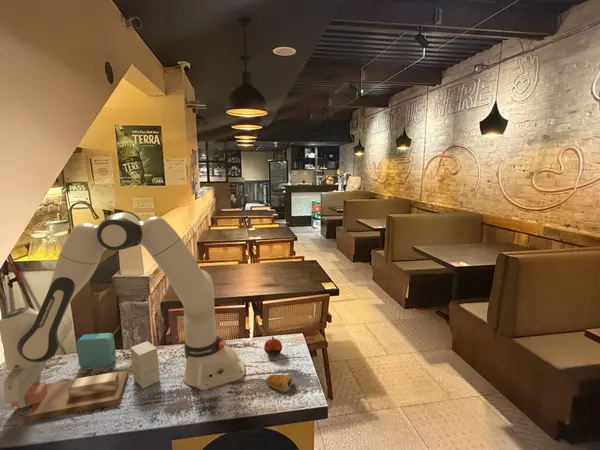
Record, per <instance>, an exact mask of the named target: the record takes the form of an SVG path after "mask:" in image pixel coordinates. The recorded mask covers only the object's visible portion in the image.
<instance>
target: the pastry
mask: <svg viewBox="0 0 600 450" xmlns="http://www.w3.org/2000/svg"><path fill="white" fill-rule="evenodd" d="M265 381H266V383H267V385H268V386H269V387H271V388H272V389H273V390H275V391H276V390H277V391H279V392H283V393H286V392H287V391H289V390H290V388H291V386H292V385H293V382H294V379H293V377H292V376H291V375H290V376H289V375H287V374H283V373H281V374H271V375H269V376H267V378H265Z"/></svg>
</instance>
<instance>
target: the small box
mask: <svg viewBox="0 0 600 450" xmlns="http://www.w3.org/2000/svg"><path fill="white" fill-rule="evenodd" d="M130 350H131V351H130V352H131V362H132V373H133V380H134V381H135V382H136V383H137V384H138V385H139V386H140V388H142V389H146V388H148V387H149V386H151V385H153V384H156V383H157V382H159V381H160V379H161V378H160V377H161V376H160V369H159V368H160V367H159V358H158V356H159V355H158V349H157V347H156V346H154V345H153V344H152V343H151V342H149V340H146V341H145V342H141V343H139V344H136V345H134V346H131V347H130Z"/></svg>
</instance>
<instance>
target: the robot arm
mask: <svg viewBox="0 0 600 450" xmlns="http://www.w3.org/2000/svg"><path fill="white" fill-rule="evenodd" d="M63 243H64V244H63V246H61V247H62V248H61V249H60V253H59V254H58V258H57V260H56V264H55V267H54V271H53V275H52V277H51V281H50V284H49V287H48V290H47V292H46V294H45V298H44V300H43V302H42V305H41V307H40V309H39V311H38V310H35V309H34V308H31V307H28V306H24V307H20V308H15V309H14V310H11V311H9V312H8V313H6V314H4V316H2V317H1V319H0V341H1V344H2V345H3V349H4V350H3V356H4V362H5V366H6V367H5V369H7V371H10V372H9V373H7V376H6V377H5V379H4V381H3V395H4V396H3V398H4V402H5V403H7V404H11V403H13V402H17V403H18V408H19V409H21V408H25V407H26V406H27V405H26V404H27V399H25V398H24V397H25V393H26V392H27V391H28V389H29V388H30V387H31V386H33V385H39V384H41V377H42V373H43V371H44V369H46V366H47V363H48V362H47V361H49V360H50V359H52V358H53V357H54V356H55V354H56V353H57V351H58V349H59V348H60V346H61V345H62V344H63V342H64V341H65V339H67V337H68V335H69V334H70V333H71V331H72V329H73V323H72V320H71V318H69V316H67V315H66V312H67V310H68V307H69V306H70V303H71V302H72V300H73V299H74V298H75V296H76V295H77V294H78V293H79V292H80V291H81V289H82V288H83V287H84V286H85V285H86V284H87V283H88V282H89V280H90V279H91V278H92V277H93V275H94V274H95V271H96V270H97V268H98V266H99V263H100V261H101V258H102V255H103V254H104V251H105V250H109V251H121V250H126V249H129V248H133V247H137V246H138V245H141V246H142V247H144V248H145V250H146V251H147V252H148V253H149V255H150V256H151V257H152V259H153V261H155V263H156V264H157V266H158V267H159V268H160V270H161V271H162V272H163V274H164V275H165V277H166V279H167V280H168V282H169V284H170V286H171V287H172V289H173V291H174V293H175V295H176V296H177V297H178V299H179V301H180V302H181V304H182V307H183V323H184V324H183V327H184V338H185V340H184V345H183V347H184V348H183V350H184V357H185V368H184V374H183V381H184V383H185V384H186V385H188V386H190V387H194V388H197V389H199V390H200V391H205V390H209V389H212V388H216V387H218V386H221V385H225V384H229V383H231V382H235V381H239V380H242V379H243V378H244V377H245V373H246V368H245V367H246V365H245V364H244V363H245V362H244V361H243V360H242V358H240V357H239V356H238V354H237V352H236V351H235V350H234V348H232V347H230V346H228V345H225V343H224V341H223V338H222V336H221V334H219V336H218V335H217V321H216V319H217V318H216V309H215V308H216V306H215V288H214V286H215V285H214V281H213V278H212V276H211V274H210V273H208V272H207V271H206V270H203V269H201V267H200V266H199V264H198V262H197V260H196V259H195V256H194V255H193V254H192V252H191V251H190V249H189V247H188V246H187V245H186V244H185V242H184V241H183V239H182V238H181V237H180V235H179V234H178V232H177V231H176V230H175V229H174V228H173V227H172V225H170V223H168V221H167V220H166V219H165V218H163V217H161V216H151V217H148V218H146V219H144V220H141V218H139V216H138V215H137V214H136V213H133V212H131V211H124V210H123V211H118V212H117V213H113V214H111V215H109V216H108V217H106V218H104V220H102V221H101V222H100V223H99V225H97V224H93V223H79V224H77V225H75V226H74V227H73V228H72V229H71V230H70V233H69V234H68V235H67V237H66V239H65V241H64V242H63Z"/></svg>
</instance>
